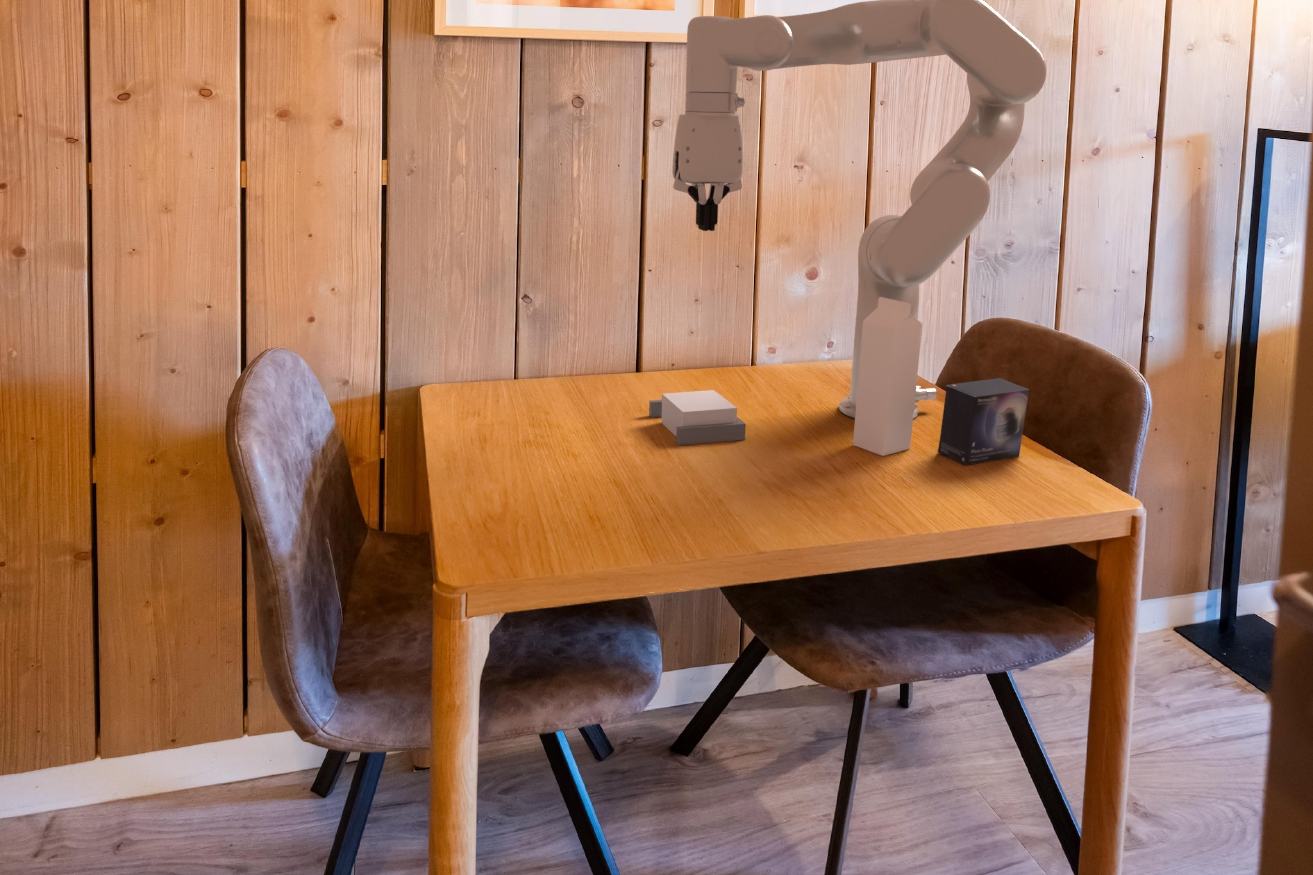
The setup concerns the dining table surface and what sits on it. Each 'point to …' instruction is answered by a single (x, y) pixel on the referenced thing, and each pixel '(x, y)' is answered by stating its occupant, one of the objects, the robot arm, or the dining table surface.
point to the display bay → (702, 429)
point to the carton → (696, 409)
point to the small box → (983, 421)
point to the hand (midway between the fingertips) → (706, 229)
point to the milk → (887, 378)
